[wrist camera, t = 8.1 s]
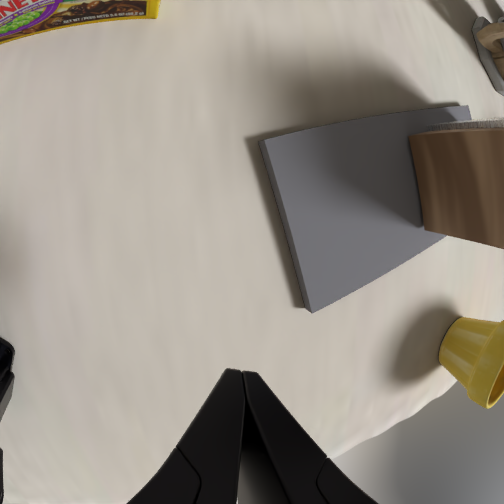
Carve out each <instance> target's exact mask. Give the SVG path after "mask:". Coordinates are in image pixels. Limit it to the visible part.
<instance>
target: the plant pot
mask: <svg viewBox="0 0 504 504" xmlns="http://www.w3.org/2000/svg"><path fill="white" fill-rule="evenodd" d="M439 362H440V363H441V365H443V366H444V367H445V368H446V369H447V370H448V371H449V372H450V373H451V374H452V375H453V376H454V377H455V378H456V379H457V380H458V381H459V382H460V383H461V384H462V385H463V386H464V387H465V388H466V389H467V395H468V397H469V398H470V399H471V400H473V401H474V402H476V403H477V404H479V405H481V406H482V407H484V408H486V409H487V408H490V407H492V406H493V405H494V404H495V403H496V402H497V401H498V400H499V398H500V397H501V396H502V394H503V393H504V320H503V321H502V322H492V321H485V320H478V319H472V318H466V317H461V318H459V319H457V320H456V321H455V322H454V323H453V324H452V325H451V327H450V328H449V330H448V331H447V333H446V335H445V337H444V339H443V341H442V344H441V346H440V350H439Z"/></svg>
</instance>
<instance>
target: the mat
mask: <svg viewBox="0 0 504 504" xmlns="http://www.w3.org/2000/svg"><path fill="white" fill-rule="evenodd" d="M459 120H472V119H471V114H470V110H469V106H468V105H466V106H452V107H441V108H430V109H421V110H413V111H405V112H398V113H391V114H384V115H378V116H372V117H366V118H360V119H354V120H349V121H344V122H339V123H334V124H329V125H324V126H319V127H315V128H310V129H306V130H302V131H297V132H293V133H289V134H285V135H281V136H277V137H273V138H269V139H266V140H263V141H260V142H258V143H259V146H260V149H261V152H262V155H263V159H264V162H265V165H266V169H267V172H268V175H269V179H270V182H271V185H272V189H273V192H274V195H275V199H276V202H277V206H278V209H279V213H280V216H281V220H282V223H283V227H284V230H285V234H286V237H287V241H288V245H289V248H290V252H291V256H292V259H293V263H294V267H295V270H296V274H297V278H298V282H299V285H300V289H301V293H302V297H303V301H304V305H305V309H307V310H308V311H309V312H311V313H314V312H316V311H318V310H320V309H322V308H324V307H326V306H328V305H330V304H332V303H334V302H335V301H337V300H339V299H341V298H343V297H345V296H347V295H348V294H350V293H352V292H354V291H356V290H358V289H359V288H361V287H363V286H365V285H367V284H368V283H370V282H372V281H374V280H375V279H377V278H379V277H381V276H382V275H384V274H386V273H387V272H389V271H391V270H393V269H394V268H396V267H398V266H399V265H401V264H403V263H404V262H406V261H408V260H409V259H411V258H412V257H414V256H416V255H417V254H419V253H421V252H422V251H424V250H425V249H427V248H429V247H430V246H432V245H433V244H435V243H436V242H438V241H439V240H441V239H443V238H444V237H446V236H447V235H444V234H439V233H435V232H430V231H425V230H424V222H423V214H422V206H421V199H420V193H419V187H418V181H417V175H416V170H415V165H414V160H413V155H412V150H411V146H410V141H409V137H408V136H410V135H415V134H419V133H424V132H428V129H427V126H428V125H434V124H440V123H446V122H452V121H459Z"/></svg>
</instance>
